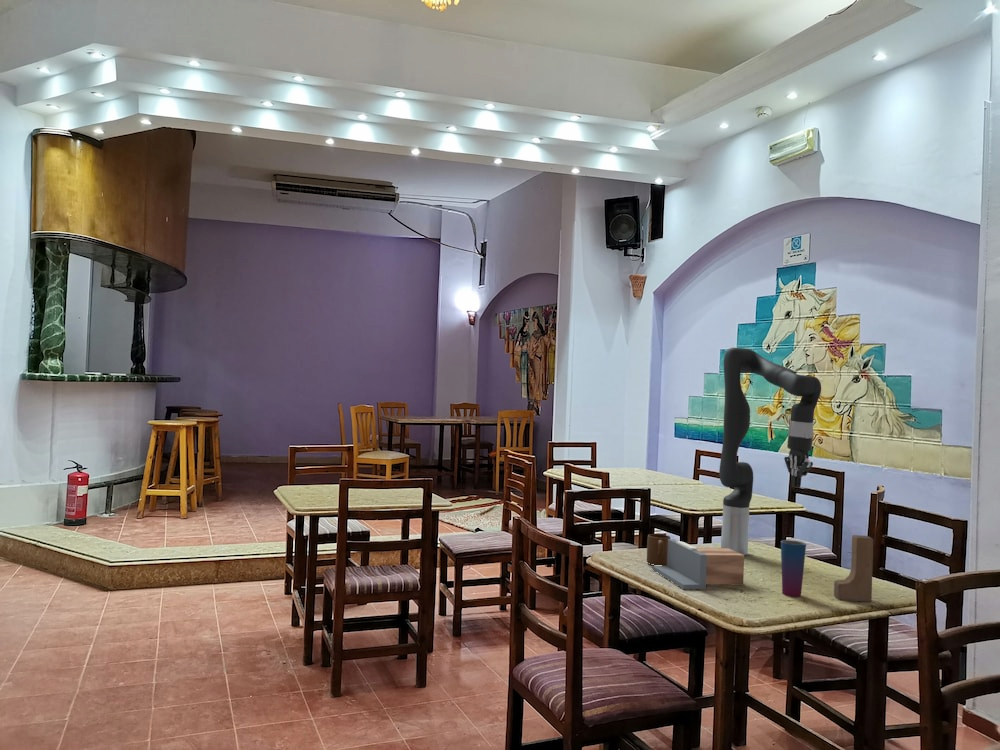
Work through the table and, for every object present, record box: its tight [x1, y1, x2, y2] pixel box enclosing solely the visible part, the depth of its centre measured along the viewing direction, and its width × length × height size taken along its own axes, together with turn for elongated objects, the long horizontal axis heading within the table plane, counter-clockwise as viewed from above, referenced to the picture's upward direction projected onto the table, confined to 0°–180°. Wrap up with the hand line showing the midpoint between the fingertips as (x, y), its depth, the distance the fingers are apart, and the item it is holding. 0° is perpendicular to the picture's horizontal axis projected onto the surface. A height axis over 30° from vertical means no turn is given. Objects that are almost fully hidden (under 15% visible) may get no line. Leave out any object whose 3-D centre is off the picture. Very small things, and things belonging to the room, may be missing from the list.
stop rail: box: [651, 538, 707, 590], centre depth 221 cm, size 23×7×11 cm, turn 11°
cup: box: [780, 539, 807, 598], centre depth 210 cm, size 7×7×15 cm
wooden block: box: [833, 534, 874, 603], centre depth 208 cm, size 9×4×18 cm, turn 82°
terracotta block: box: [696, 547, 745, 585], centre depth 222 cm, size 10×15×9 cm, turn 100°
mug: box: [646, 533, 671, 566], centre depth 239 cm, size 12×8×9 cm, turn 173°
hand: (796, 487), depth 240 cm, fingers closed
